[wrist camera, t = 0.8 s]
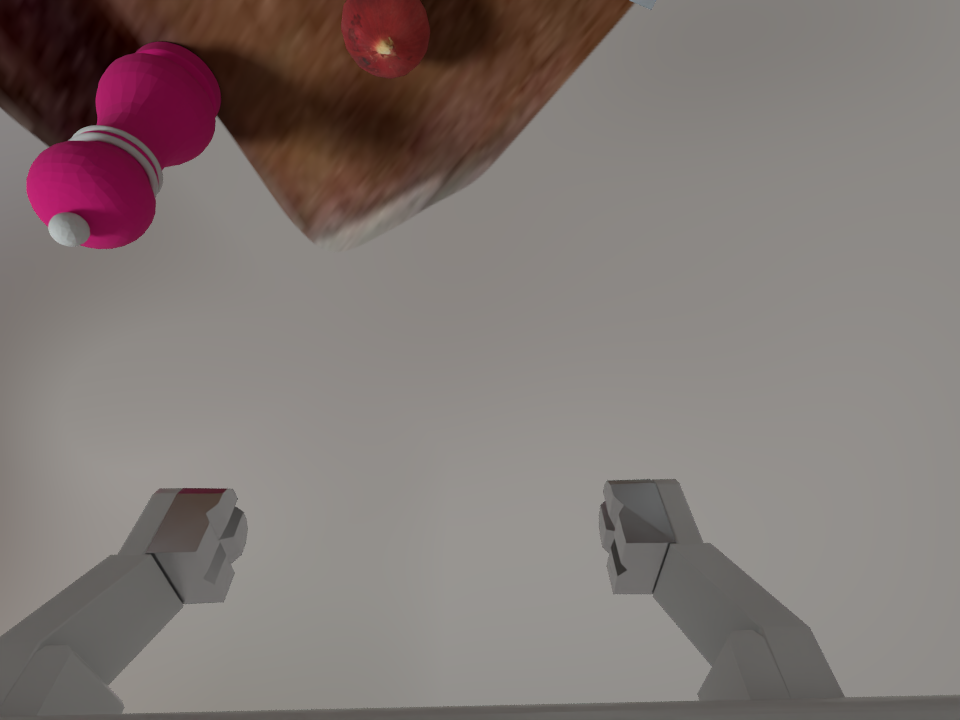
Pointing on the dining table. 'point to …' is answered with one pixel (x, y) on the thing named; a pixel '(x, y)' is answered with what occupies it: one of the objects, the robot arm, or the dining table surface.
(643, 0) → the stand
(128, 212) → the pepper mill
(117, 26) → the dining table surface
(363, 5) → the onion
